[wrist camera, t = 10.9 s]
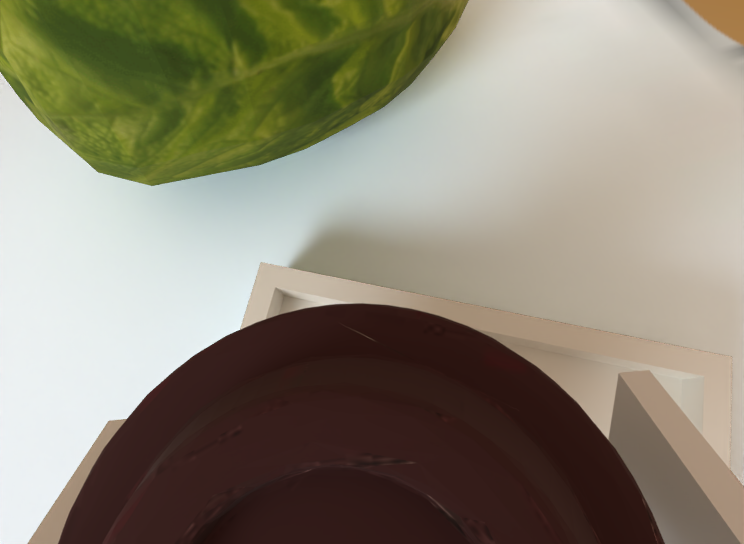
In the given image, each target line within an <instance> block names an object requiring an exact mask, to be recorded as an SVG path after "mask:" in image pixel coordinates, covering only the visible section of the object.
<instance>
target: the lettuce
mask: <svg viewBox="0 0 744 544" xmlns="http://www.w3.org/2000/svg"><path fill="white" fill-rule="evenodd" d="M468 1H469V0H0V72H1V74H2V75H3V76H4V78H5V79H6V80H7V82H8V83H9V84H10V86H11V87H12V88H13V90H14V91H15V92H16V94H17V95H18V96H19V98H20V99H21V100H22V101H23V102H24V103H25V105H26V106H27V107H28V108H29V109H30V111H31V112H32V113H33V114H34V115H35V116H36V118H37V119H38V120H39V121H40V122H41V123H42V124H44V125H45V126H46V127H47V128H48V129H49V130H50V131H52V132H53V133H54V134H55V135H56V136H57V137H58V138H60V139H61V140H62V141H63V142H64V143H65V144H66V145H68V146H69V147H70V148H71V149H72V150H73V151H74V152H76V153H77V154H78V155H79V156H80V157H81V158H83V159H84V160H85V161H86V162H87V163H88V164H89V165H91V166H92V167H93V168H94V169H95V170H96V171H97V172H99V173H103V174H107V175H111V176H115V177H119V178H123V179H127V180H131V181H135V182H139V183H143V184H147V185H151V186H154V185H159V184H164V183H169V182H174V181H180V180H185V179H190V178H195V177H200V176H205V175H211V174H216V173H221V172H226V171H231V170H236V169H241V168H247V167H252V166H257V165H261V164H264V163H267V162H269V161H272V160H275V159H278V158H281V157H284V156H287V155H289V154H292V153H295V152H298V151H301V150H304V149H306V148H308V147H310V146H312V145H314V144H316V143H318V142H320V141H322V140H324V139H326V138H328V137H330V136H332V135H334V134H335V133H337V132H339V131H341V130H343V129H345V128H347V127H349V126H351V125H353V124H355V123H356V122H358V121H360V120H362V119H363V118H365V117H367V116H369V115H370V114H372V113H374V112H376V111H378V110H379V109H381V108H383V107H384V106H386V105H387V104H388V103H389V102H390V101H392V100H393V99H394V98H395V97H396V96H397V95H399V94H400V93H401V92H402V91H403V90H405V89H406V88H407V87H408V86H409V85H410V84H411V83H412V82H413V81H414V80H415V79H416V77H417V76H418V75H419V74H420V73H421V71H422V70H423V69H424V68H425V67H426V65H427V64H428V63H429V62H430V61H431V59H432V58H433V57H434V56H435V54H436V53H437V52H438V50H439V49H440V48H441V46H442V45H443V44H444V42H445V41H446V40H447V38H448V37H449V36H450V34H451V33H452V32H453V30H454V29H455V28H456V25H457V23H458V21H459V19H460V17H461V15H462V13H463V11H464V9H465V7H466V4H467V2H468Z"/></svg>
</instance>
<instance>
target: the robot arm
mask: <svg viewBox="0 0 744 544" xmlns="http://www.w3.org/2000/svg"><path fill="white" fill-rule="evenodd" d="M126 420H127V419H123V420H113V421H108V423H107V424H106V426H105V427H104V429H103V430H102V432H101V433H100V435H99V436H98V438H97V439H96V441H95V442H94V444H93V445H92V447H91V448H90V450H89V451H88V453H87V455H86V456H85V458H84V459H83V461H82V462H81V464H80V465H79V467H78V468H77V470H76V471H75V473H74V474H73V476H72V477H71V479H70V480H69V482H68V483H67V485H66V486H65V488H64V489H63V491H62V492H61V494H60V495H59V497H58V498H57V500H56V501H55V503H54V504H53V506H52V507H51V509H50V510H49V512H48V513H47V515H46V516H45V518H44V519H43V521H42V522H41V524H40V526H39V527H38V529H37V530H36V532H35V533H34V535H33V536H32V538H31V539H30V541H29V542H28V544H58V542H59V539H60V536H61V533H62V530H63V527H64V525H65V522H66V520H67V517H68V515H69V512H70V510H71V508H72V506H73V504H74V502H75V500H76V498H77V496H78V494H79V492H80V490H81V488H82V486H83V484H84V483H85V481H86V479H87V477H88V475H89V473H90V471H91V469H92V467H93V465H94V464H95V462H96V460H97V459H98V457H99V455H100V454H101V452H102V450H103V449H104V447H105V446H106V445H107V443H108V442H109V441H110V439H111V438H112V437H113V436H114V434H115V433H116V432H117V430H118V429H119V428H120V427H121V426H122V424H123V423H124V422H125V421H126ZM608 440H609V441H610V443H611V444H612V445H613V446H614V447H615V449H616V450H617V452H618V453H619V455H620V456H621V458H622V460H623V461H624V463H625V464H626V466H627V467H628V469H629V471H630V472H631V474H632V475H633V477H634V479H635V480H636V482H637V484H638V486H639V488H640V490H641V492H642V494H643V496H644V498H645V500H646V502H647V504H648V506H649V508H650V509H651V511H652V513H653V516H654V518H655V521H656V523H657V525H658V528H659V530H660V533H661V535H662V538H663V540H664V542H665V544H744V486H743V485H742V484H741V483H740V481H739V480H738V479H737V478H736V476H735V475H734V474H733V473H732V472H731V470H730V469H729V468H728V467H727V465H726V464H725V463H724V462H723V460H722V459H721V458H720V457H719V455H718V454H717V453H716V452H715V451H714V449H713V448H712V447H711V446H710V444H709V443H708V442H707V441H706V439H705V438H704V437H703V436H702V435H701V433H700V432H699V431H698V430H697V428H696V427H695V426H694V425H693V423H692V422H691V421H690V420H689V418H688V417H687V416H686V415H685V414H684V412H683V411H682V410H681V409H680V407H679V406H678V405H677V404H676V402H675V401H674V400H673V399H672V397H671V396H670V395H669V394H668V393H667V391H666V390H665V389H664V388H663V386H662V385H661V384H660V383H659V381H658V380H657V379H656V378H655V376H654V375H653V374H652V373H651V372H650V370H643V371H633V372H622V373H619V374H618V380H617V387H616V393H615V400H614V406H613V412H612V419H611V425H610V432H609V438H608Z"/></svg>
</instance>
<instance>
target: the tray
mask: <svg viewBox="0 0 744 544" xmlns="http://www.w3.org/2000/svg"><path fill="white" fill-rule="evenodd" d="M354 303H365V304H381V305H391V306H398V307H404V308H410V309H415V310H419V311H423V312H427V313H431V314H435V315H439V316H441V317H444V318H447V319H450V320H452V321H455V322H458V323H461V324H464V325H466V326H469V327H471V328H473V329H475V330H477V331H479V332H481V333H483V334H486V335H488V336H490V337H492V338H494V339H495V340H497V341H498V342H500V343H501V344H503V345H505V346H506V347H508V348H509V349H511V350H512V351H514V352H515V353H517V354H519V355H520V356H522V357H523V358H525V359H526V360H528V361H529V362H531V363H532V364H534V365H536V366H537V367H538V368H539V369H540V370H542V371H543V372H544V373H545V374H547V375H548V376H549V377H550V378H551V379H553V380H554V381H555V382H556V383H557V384H558V385H559V386H560V387H561V388H562V389H564V390H565V391H566V392H567V393H568V394H569V395H570V396H571V397H572V398H573V399H574V400H575V401H576V402H577V403H578V404H579V405H580V406H581V408H582V409H583V410H584V411H585V412H586V414H587V415H588V416H589V417H590V418H591V420H592V421H593V422H594V423H595V424H596V426H597V427H598V428H599V429H600V430H601V432H602V433H603V434H604V435H605V437H606V438H607V439H608V438H609V432H610V425H611V419H612V412H613V406H614V400H615V393H616V387H617V380H618V374H619V373H622V372H633V371H643V370H650V372H651V373H652V374H653V375H654V376H655V378H656V379H657V380H658V381H659V383H660V384H661V385H662V386H663V388H664V389H665V390H666V391H667V393H668V394H669V395H670V396H671V397H672V399H673V400H674V401H675V402H676V404H677V405H678V406H679V407H680V409H681V410H682V411H683V412H684V414H685V415H686V416H687V417H688V418H689V420H690V421H691V422H692V423H693V425H694V426H695V427H696V428H697V430H698V431H699V432H700V433H701V435H702V436H703V437H704V438H705V439H706V441H707V442H708V443H709V444H710V446H711V447H712V448H713V449H714V451H715V452H716V453H717V454H718V455H719V457H720V458H721V459H722V460H723V462H724V463H725V464H726V465H727V467H728V468H729V469H730V450H731V394H732V357H730V356H725V355H720V354H715V353H710V352H705V351H700V350H695V349H690V348H685V347H680V346H675V345H670V344H665V343H660V342H655V341H650V340H645V339H640V338H635V337H631V336H626V335H621V334H616V333H611V332H606V331H601V330H596V329H591V328H586V327H581V326H576V325H571V324H566V323H561V322H556V321H551V320H546V319H541V318H536V317H531V316H526V315H521V314H516V313H511V312H506V311H501V310H496V309H491V308H486V307H481V306H476V305H471V304H466V303H461V302H456V301H451V300H446V299H441V298H436V297H431V296H426V295H421V294H416V293H411V292H406V291H402V290H397V289H392V288H387V287H382V286H377V285H372V284H367V283H362V282H357V281H352V280H347V279H342V278H337V277H332V276H327V275H322V274H317V273H312V272H307V271H302V270H297V269H292V268H287V267H282V266H277V265H272V264H267V263H262V262H261V263H260V267H259V270H258V273H257V276H256V280H255V283H254V286H253V289H252V293H251V296H250V299H249V302H248V305H247V309H246V312H245V315H244V318H243V322H242V325H241V328H240V330H241V329H243V328H245V327H247V326H249V325H252V324H254V323H256V322H259V321H262V320H265V319H268V318H271V317H274V316H277V315H280V314H283V313H287V312H291V311H296V310H300V309H304V308H310V307H317V306H324V305H331V304H354Z"/></svg>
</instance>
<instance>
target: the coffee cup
mask: <svg viewBox="0 0 744 544" xmlns="http://www.w3.org/2000/svg"><path fill="white" fill-rule="evenodd" d="M58 544H665V542H664V540H663V538H662V535H661V533H660V530H659V528H658V525H657V523H656V521H655V518H654V516H653V513H652V511H651V509H650V508H649V506H648V504H647V502H646V500H645V498H644V496H643V494H642V492H641V490H640V488H639V486H638V484H637V482H636V480H635V479H634V477H633V475H632V474H631V472H630V471H629V469H628V467H627V466H626V464H625V463H624V461H623V460H622V458H621V456H620V455H619V453H618V452H617V450H616V449H615V447H614V446H613V445H612V444H611V443H610V441H609V440H608V439H607V438H606V437H605V435H604V434H603V433H602V432H601V430H600V429H599V428H598V427H597V426H596V424H595V423H594V422H593V421H592V420H591V418H590V417H589V416H588V415H587V414H586V412H585V411H584V410H583V409H582V408H581V406H580V405H579V404H578V403H577V402H576V401H575V400H574V399H573V398H572V397H571V396H570V395H569V394H568V393H567V392H566V391H565V390H564V389H562V388H561V387H560V386H559V385H558V384H557V383H556V382H555V381H554V380H553V379H551V378H550V377H549V376H548V375H547V374H545V373H544V372H543V371H542V370H540V369H539V368H538V367H537V366H536V365H534V364H532V363H531V362H529V361H528V360H526V359H525V358H523V357H522V356H520V355H519V354H517V353H515V352H514V351H512V350H511V349H509V348H508V347H506V346H505V345H503V344H501V343H500V342H498V341H497V340H495V339H494V338H492V337H490V336H488V335H486V334H483V333H481V332H479V331H477V330H475V329H473V328H471V327H469V326H466V325H464V324H461V323H458V322H455V321H452V320H450V319H447V318H444V317H441V316H439V315H435V314H431V313H427V312H423V311H419V310H415V309H410V308H404V307H398V306H391V305H381V304H365V303H354V304H331V305H324V306H317V307H310V308H304V309H300V310H296V311H291V312H287V313H283V314H280V315H277V316H274V317H271V318H268V319H265V320H262V321H259V322H256V323H254V324H252V325H249V326H247V327H245V328H243V329H241V330H238V331H236V332H234V333H232V334H230V335H227V336H225V337H224V338H222V339H220V340H219V341H217V342H216V343H214V344H212V345H211V346H209V347H207V348H206V349H204V350H202V351H201V352H199V353H197V354H196V355H194V356H193V357H192V358H190V359H189V360H188V361H186V362H185V363H184V364H183V365H181V366H180V367H179V368H177V369H176V370H175V371H174V372H173V373H171V374H170V375H169V376H168V377H167V378H166V379H165V380H163V381H162V382H161V383H160V384H159V385H158V386H157V387H156V388H154V389H153V390H152V391H151V392H150V393H149V394H148V395H147V396H146V397H145V398H144V399H143V401H142V402H141V403H140V404H139V405H138V407H137V408H136V409H135V410H134V411H133V412H132V414H131V415H130V416H129V417H128V418H127V420H126V421H125V422H124V423H123V424H122V426H121V427H120V428H119V429H118V430H117V432H116V433H115V434H114V436H113V437H112V438H111V439H110V441H109V442H108V443H107V445H106V446H105V447H104V449H103V450H102V452H101V454H100V455H99V457H98V459H97V460H96V462H95V464H94V465H93V467H92V469H91V471H90V473H89V475H88V477H87V479H86V481H85V483H84V484H83V486H82V488H81V490H80V492H79V494H78V496H77V498H76V500H75V502H74V504H73V506H72V508H71V510H70V512H69V515H68V517H67V520H66V522H65V525H64V527H63V530H62V533H61V536H60V539H59V542H58Z"/></svg>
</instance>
